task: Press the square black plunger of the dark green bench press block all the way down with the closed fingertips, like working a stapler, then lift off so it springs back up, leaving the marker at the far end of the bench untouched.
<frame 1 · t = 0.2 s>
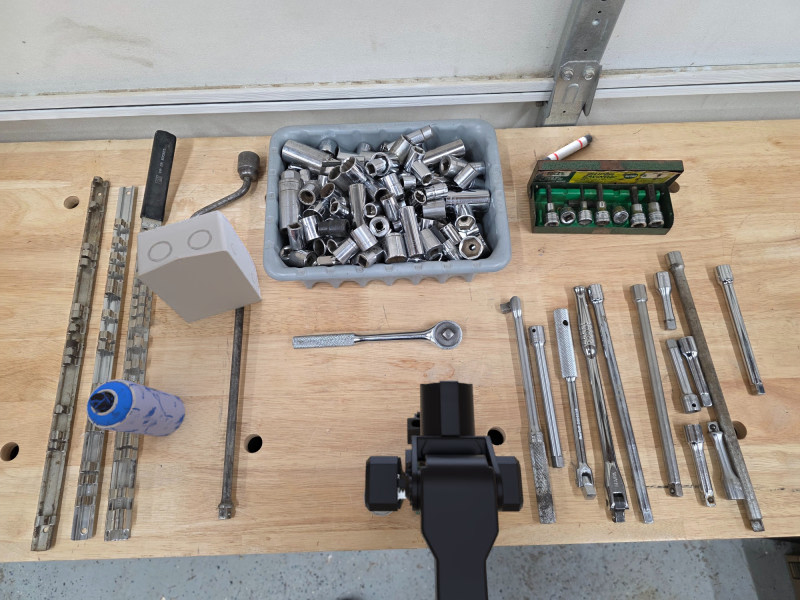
hand: (438, 481, 63), 16 cm above the workbench, tool pointing down, fingers open, 9 cm apart
electrical switch box: (221, 279, 92), on the workbench
press plunger: (446, 468, 74), point 5 cm above the workbench, slide at 0.1 cm
aerosol can: (168, 415, 83), on the workbench
beverage can: (386, 491, 77), on the workbench
press block: (444, 468, 78), on the workbench
marker: (560, 157, 100), on the workbench
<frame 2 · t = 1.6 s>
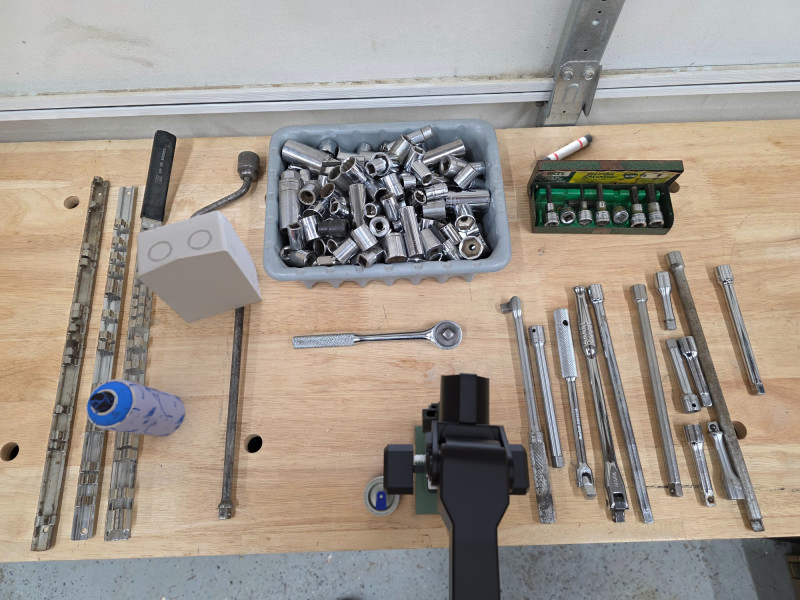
hand: (449, 469, 67), 12 cm above the workbench, tool pointing down, fingers closed
nothing on the workbench moved.
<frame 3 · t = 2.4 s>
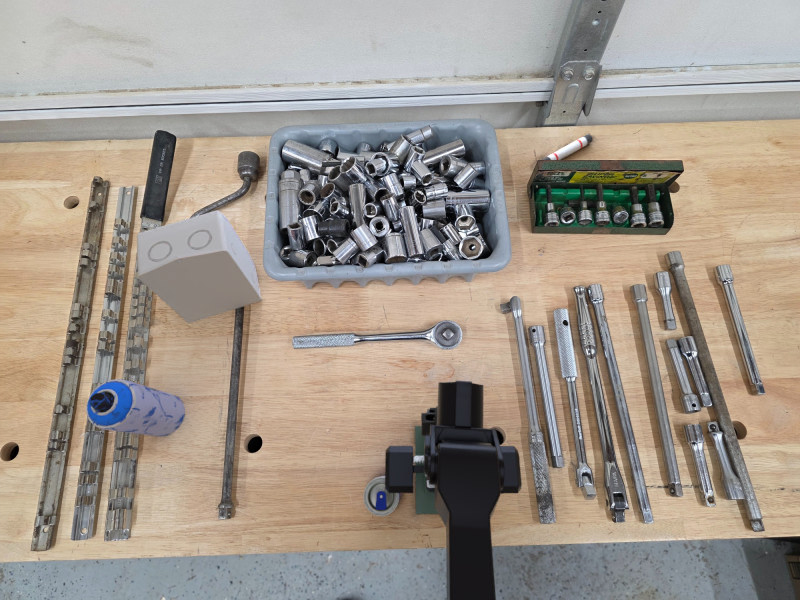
hand: (447, 469, 71), 7 cm above the workbench, tool pointing down, fingers closed
nothing on the workbench moved.
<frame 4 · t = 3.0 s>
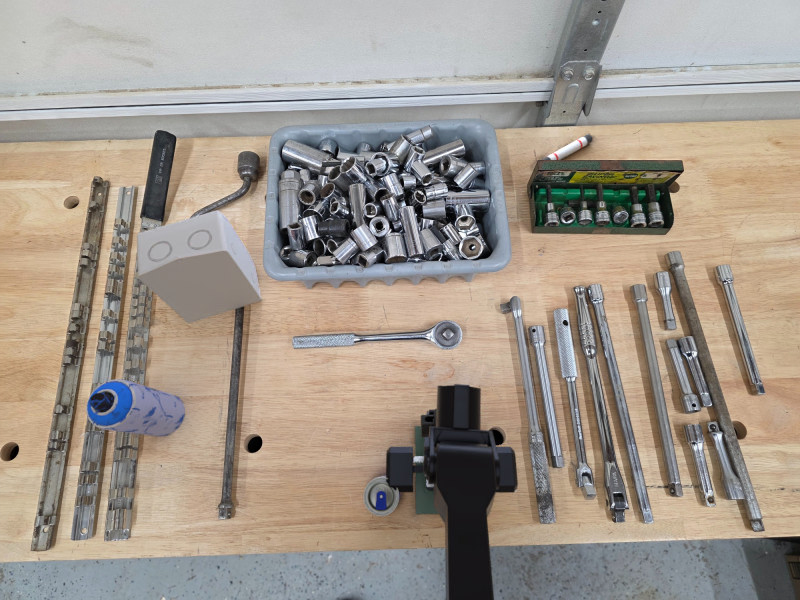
hand: (446, 468, 74), 5 cm above the workbench, tool pointing down, fingers closed, pressing on press plunger
press plunger: (445, 468, 75), point 4 cm above the workbench, slide at -0.6 cm, touching gripper
everything else where it was.
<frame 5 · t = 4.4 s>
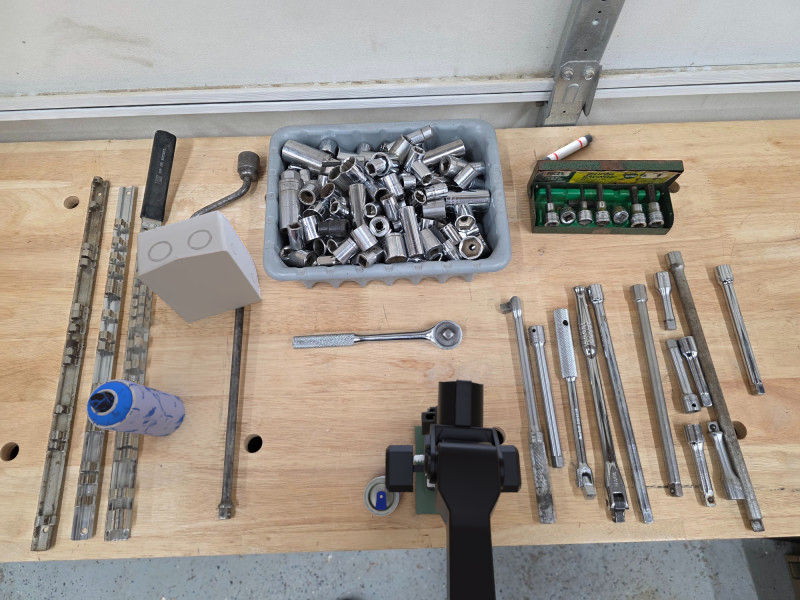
hand: (447, 468, 71), 7 cm above the workbench, tool pointing down, fingers closed
press plunger: (446, 468, 74), point 5 cm above the workbench, slide at 0.1 cm
everything else where it was.
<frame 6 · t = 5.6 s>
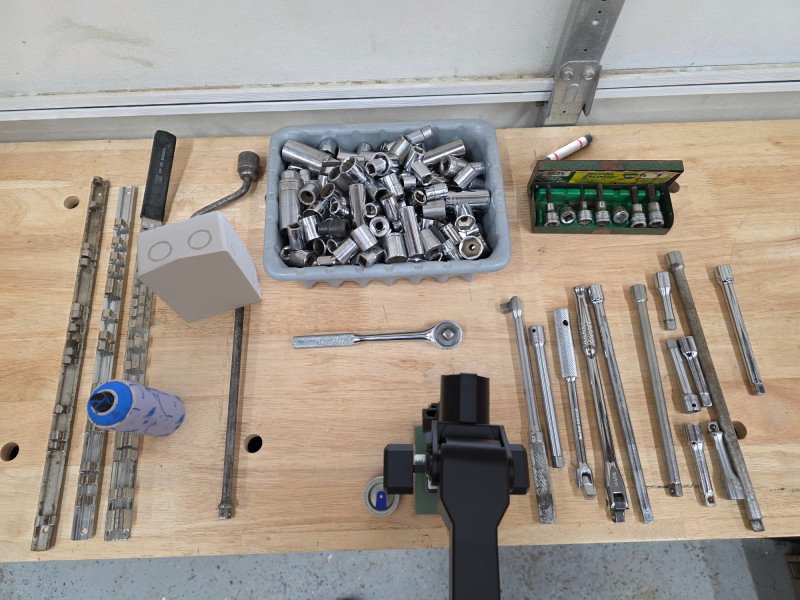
hand: (449, 468, 67), 12 cm above the workbench, tool pointing down, fingers closed
nothing on the workbench moved.
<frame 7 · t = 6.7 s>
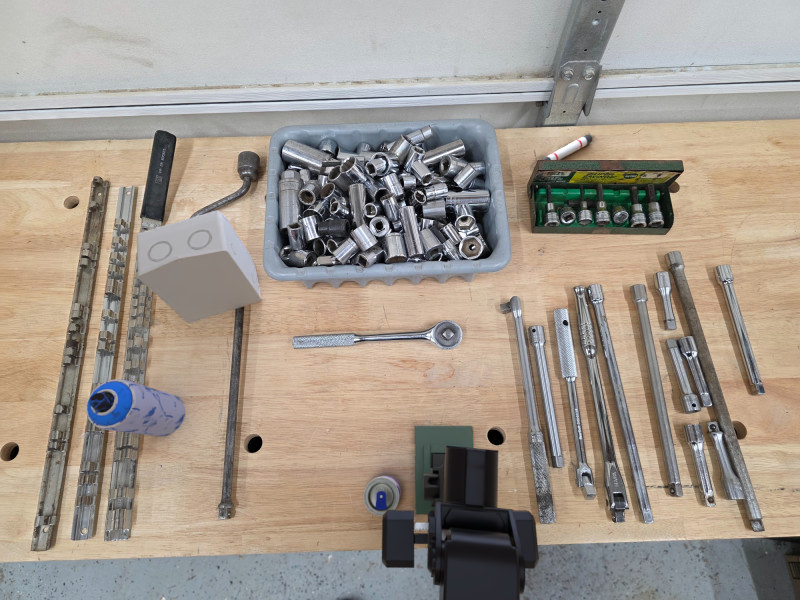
hand: (452, 529, 63), 13 cm above the workbench, tool pointing down, fingers closed
nothing on the workbench moved.
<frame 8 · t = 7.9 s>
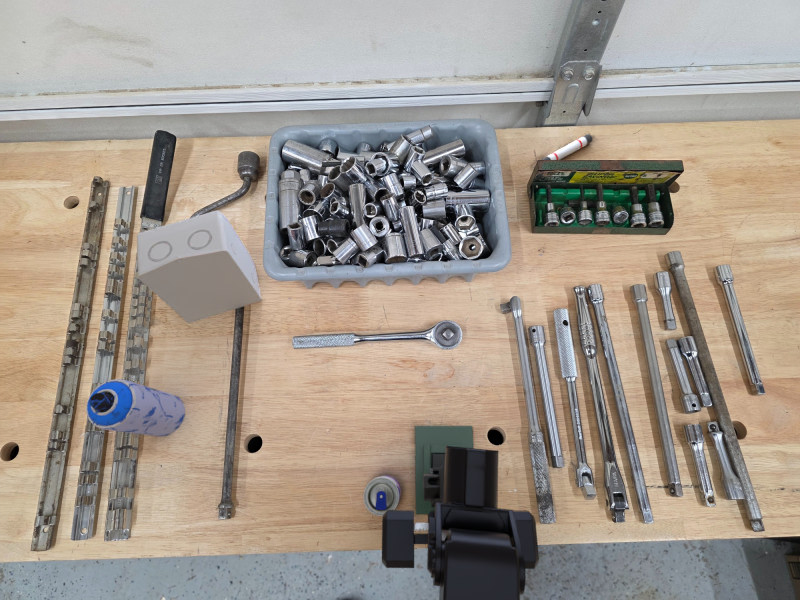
hand: (452, 529, 63), 13 cm above the workbench, tool pointing down, fingers closed
nothing on the workbench moved.
at the end: press plunger pushed in 1.4 cm at the most during the clip, back to where it started at the end; press plunger slide at 0.1 cm; marker moved 0.2 cm from its start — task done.
